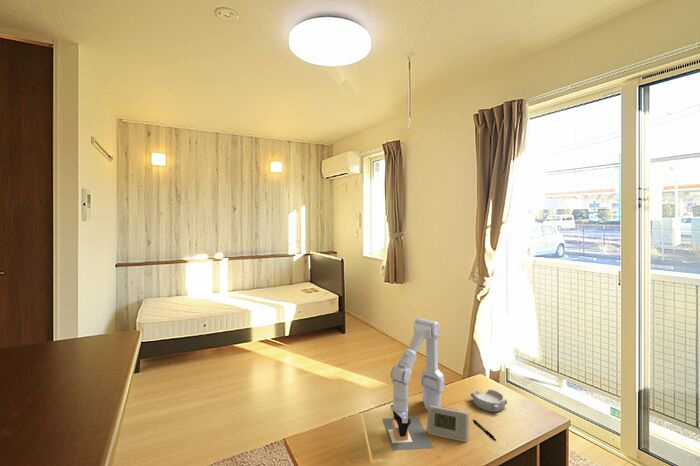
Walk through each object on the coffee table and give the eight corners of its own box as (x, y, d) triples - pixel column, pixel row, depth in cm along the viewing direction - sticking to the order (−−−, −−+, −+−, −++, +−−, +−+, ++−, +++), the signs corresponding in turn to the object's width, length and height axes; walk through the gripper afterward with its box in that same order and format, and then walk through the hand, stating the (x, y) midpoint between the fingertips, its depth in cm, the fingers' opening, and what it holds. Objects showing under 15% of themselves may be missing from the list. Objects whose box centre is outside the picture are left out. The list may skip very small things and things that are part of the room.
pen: (471, 422, 144) (470, 419, 144) (474, 420, 145) (474, 418, 145) (493, 442, 131) (493, 439, 131) (497, 440, 131) (496, 437, 131)
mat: (382, 420, 144) (382, 418, 144) (418, 418, 145) (418, 416, 145) (392, 452, 124) (392, 450, 124) (433, 450, 125) (433, 447, 125)
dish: (466, 401, 160) (466, 391, 160) (487, 394, 166) (487, 385, 166) (490, 417, 147) (491, 406, 147) (512, 409, 153) (512, 399, 153)
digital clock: (424, 434, 135) (425, 409, 134) (431, 423, 142) (431, 399, 142) (466, 449, 126) (466, 422, 126) (470, 436, 134) (471, 410, 133)
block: (392, 432, 135) (392, 420, 134) (404, 431, 135) (404, 419, 135) (395, 440, 130) (395, 427, 130) (407, 439, 130) (407, 426, 130)
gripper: (387, 387, 139) (386, 419, 139) (394, 407, 124) (394, 442, 125) (403, 387, 139) (403, 418, 140) (413, 406, 125) (412, 441, 125)
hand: (400, 429), depth 132 cm, fingers open, 7 cm apart
